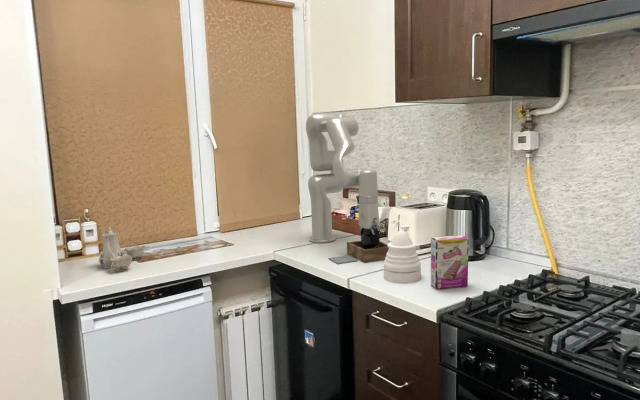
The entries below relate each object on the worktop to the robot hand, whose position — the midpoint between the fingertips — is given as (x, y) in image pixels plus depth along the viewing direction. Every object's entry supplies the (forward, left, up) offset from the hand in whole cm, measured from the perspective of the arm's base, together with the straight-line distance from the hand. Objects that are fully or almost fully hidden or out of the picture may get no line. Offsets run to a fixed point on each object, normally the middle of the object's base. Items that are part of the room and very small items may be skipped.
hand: (370, 241), depth 199 cm
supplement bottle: (0, 0, -7) cm, 6 cm away
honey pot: (+31, -4, -7) cm, 31 cm away
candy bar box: (+47, +4, -7) cm, 47 cm away
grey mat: (0, -12, -6) cm, 14 cm away
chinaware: (-40, -95, -7) cm, 104 cm away
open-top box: (0, 0, -6) cm, 6 cm away
